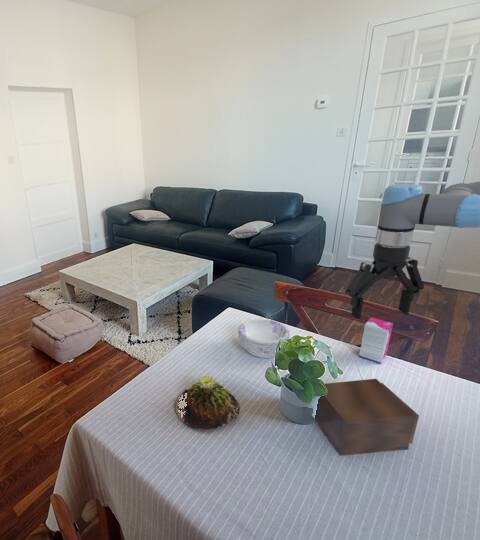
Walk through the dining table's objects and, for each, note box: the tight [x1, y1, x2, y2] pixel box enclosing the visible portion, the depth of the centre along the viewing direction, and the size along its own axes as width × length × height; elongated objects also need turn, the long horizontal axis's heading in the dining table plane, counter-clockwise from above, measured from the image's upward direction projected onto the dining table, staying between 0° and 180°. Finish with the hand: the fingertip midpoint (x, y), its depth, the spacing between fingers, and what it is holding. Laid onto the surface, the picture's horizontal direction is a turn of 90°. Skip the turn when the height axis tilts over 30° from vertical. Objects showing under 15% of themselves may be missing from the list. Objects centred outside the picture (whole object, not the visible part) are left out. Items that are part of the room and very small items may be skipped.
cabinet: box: [314, 378, 416, 456], centre depth 77 cm, size 15×12×10 cm
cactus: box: [174, 375, 241, 430], centre depth 89 cm, size 17×16×10 cm
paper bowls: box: [238, 318, 290, 359], centre depth 110 cm, size 15×15×8 cm
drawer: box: [380, 382, 420, 445], centre depth 77 cm, size 15×10×8 cm
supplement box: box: [358, 317, 394, 365], centre depth 100 cm, size 6×6×12 cm
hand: (379, 314), depth 97 cm, fingers open, 13 cm apart
